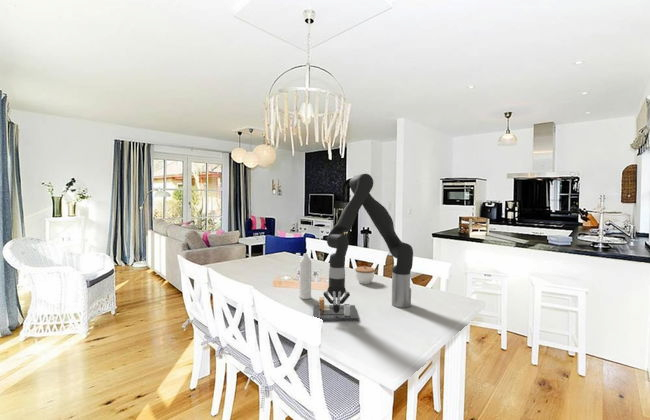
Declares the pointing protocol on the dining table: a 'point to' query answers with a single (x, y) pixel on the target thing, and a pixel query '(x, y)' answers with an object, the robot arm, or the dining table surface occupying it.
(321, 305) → the fader orange
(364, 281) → the lidded bowl
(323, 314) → the console
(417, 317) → the dining table surface
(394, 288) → the robot arm
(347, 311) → the white banded fader cap
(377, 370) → the dining table surface
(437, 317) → the dining table surface
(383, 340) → the dining table surface
